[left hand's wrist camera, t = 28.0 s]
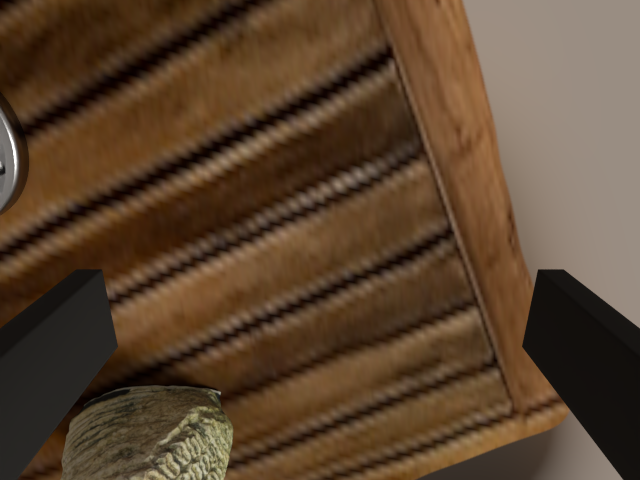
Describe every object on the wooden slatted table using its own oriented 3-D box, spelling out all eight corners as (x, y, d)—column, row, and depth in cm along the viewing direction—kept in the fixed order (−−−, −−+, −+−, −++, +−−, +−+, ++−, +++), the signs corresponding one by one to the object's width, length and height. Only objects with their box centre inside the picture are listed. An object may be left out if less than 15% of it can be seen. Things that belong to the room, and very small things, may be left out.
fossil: (252, 417, 47) (223, 559, 33) (108, 457, 49) (24, 606, 35) (220, 355, 44) (173, 483, 30) (68, 401, 46) (-41, 540, 32)
